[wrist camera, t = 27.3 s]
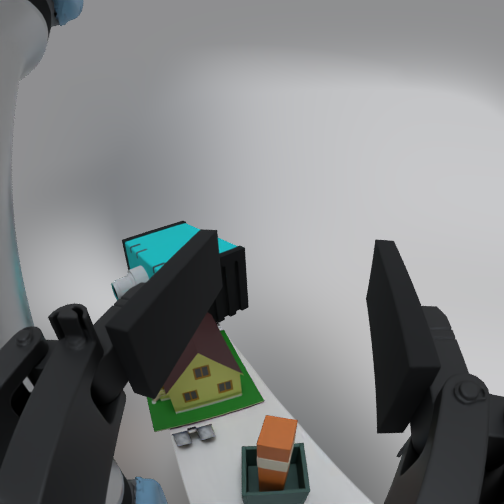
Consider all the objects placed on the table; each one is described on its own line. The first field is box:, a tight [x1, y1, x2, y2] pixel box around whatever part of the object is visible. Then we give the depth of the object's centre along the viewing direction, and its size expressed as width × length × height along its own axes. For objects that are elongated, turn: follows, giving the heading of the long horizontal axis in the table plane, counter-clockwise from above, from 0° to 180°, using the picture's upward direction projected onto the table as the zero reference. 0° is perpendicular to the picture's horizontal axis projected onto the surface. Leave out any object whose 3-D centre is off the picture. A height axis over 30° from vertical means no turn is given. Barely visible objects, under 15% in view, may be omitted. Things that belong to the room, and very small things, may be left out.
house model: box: [147, 312, 264, 432], centre depth 46 cm, size 18×20×13 cm
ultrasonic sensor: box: [172, 424, 215, 446], centre depth 37 cm, size 6×2×3 cm, turn 113°
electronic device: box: [111, 221, 248, 322], centre depth 64 cm, size 25×25×15 cm
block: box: [257, 415, 298, 492], centre depth 26 cm, size 3×4×16 cm
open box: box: [242, 443, 310, 504], centre depth 29 cm, size 8×7×6 cm
